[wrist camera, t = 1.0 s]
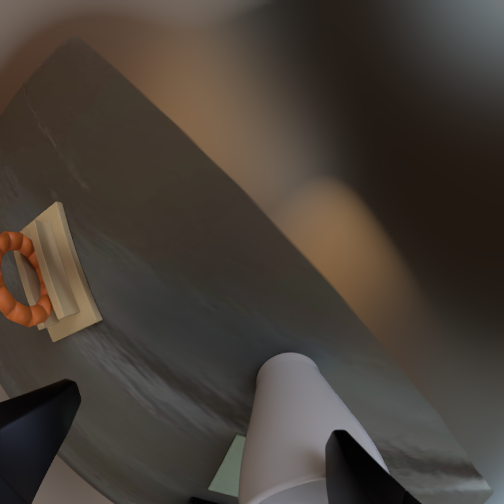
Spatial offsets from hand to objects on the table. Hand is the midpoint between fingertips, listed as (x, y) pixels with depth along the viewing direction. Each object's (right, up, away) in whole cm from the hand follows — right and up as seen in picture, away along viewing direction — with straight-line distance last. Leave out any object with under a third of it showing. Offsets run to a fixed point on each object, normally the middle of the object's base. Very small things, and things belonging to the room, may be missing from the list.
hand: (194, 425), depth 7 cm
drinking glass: (+5, -5, +14) cm, 16 cm away
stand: (-17, +3, +15) cm, 23 cm away
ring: (-17, +3, +14) cm, 22 cm away
